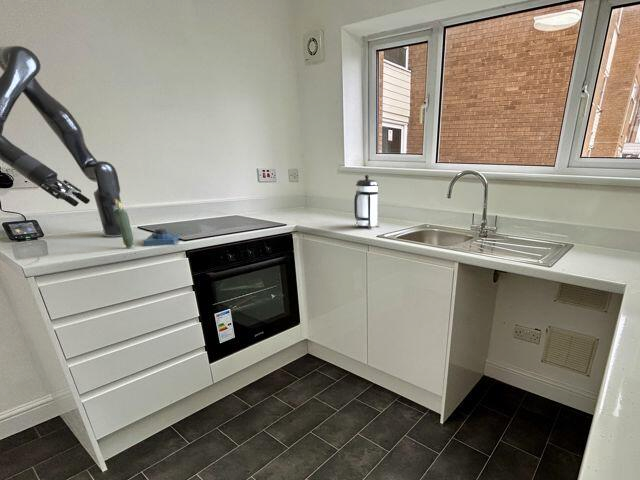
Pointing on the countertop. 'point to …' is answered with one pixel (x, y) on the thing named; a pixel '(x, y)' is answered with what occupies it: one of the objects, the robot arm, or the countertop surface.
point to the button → (160, 231)
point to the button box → (161, 239)
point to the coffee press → (366, 202)
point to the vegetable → (123, 224)
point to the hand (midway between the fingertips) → (82, 203)
